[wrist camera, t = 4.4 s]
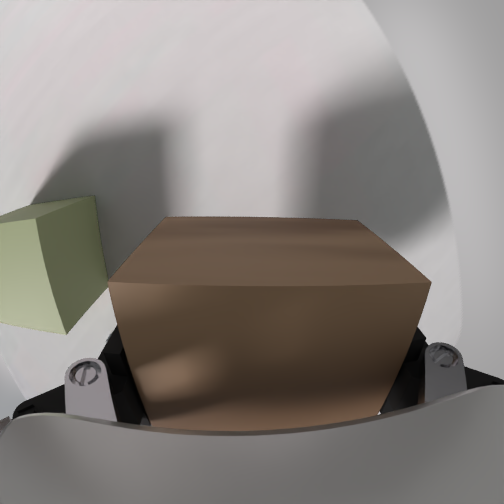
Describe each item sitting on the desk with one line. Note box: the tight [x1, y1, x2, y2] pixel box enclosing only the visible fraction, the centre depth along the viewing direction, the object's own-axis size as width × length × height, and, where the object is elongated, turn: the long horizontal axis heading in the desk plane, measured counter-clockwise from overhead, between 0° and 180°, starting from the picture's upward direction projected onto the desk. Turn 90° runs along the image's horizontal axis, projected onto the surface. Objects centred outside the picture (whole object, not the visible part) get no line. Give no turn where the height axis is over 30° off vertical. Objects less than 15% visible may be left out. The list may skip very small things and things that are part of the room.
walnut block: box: [107, 217, 432, 431], centre depth 9 cm, size 7×7×5 cm
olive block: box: [0, 196, 108, 335], centre depth 14 cm, size 6×6×6 cm
